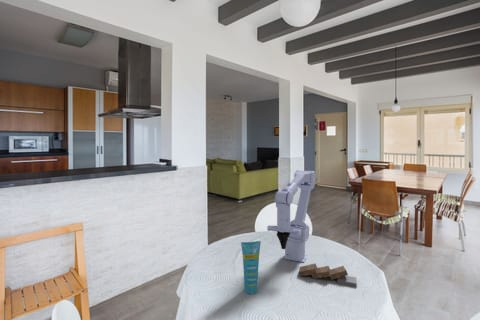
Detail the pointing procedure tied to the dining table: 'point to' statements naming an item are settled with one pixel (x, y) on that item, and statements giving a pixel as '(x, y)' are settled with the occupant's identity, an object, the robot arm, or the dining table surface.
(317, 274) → the domino
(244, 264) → the tube
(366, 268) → the dining table surface
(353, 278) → the domino
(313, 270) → the domino
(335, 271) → the domino
